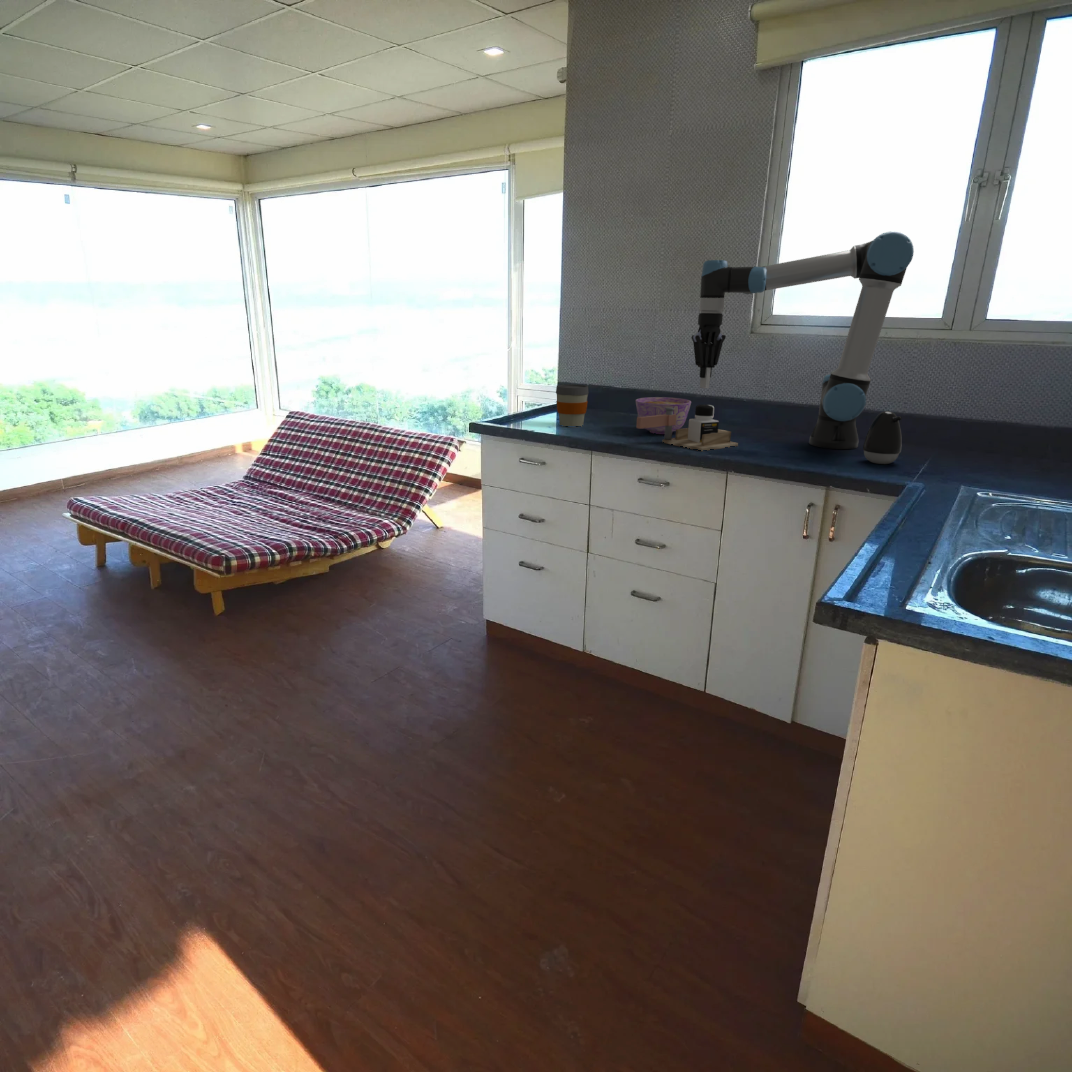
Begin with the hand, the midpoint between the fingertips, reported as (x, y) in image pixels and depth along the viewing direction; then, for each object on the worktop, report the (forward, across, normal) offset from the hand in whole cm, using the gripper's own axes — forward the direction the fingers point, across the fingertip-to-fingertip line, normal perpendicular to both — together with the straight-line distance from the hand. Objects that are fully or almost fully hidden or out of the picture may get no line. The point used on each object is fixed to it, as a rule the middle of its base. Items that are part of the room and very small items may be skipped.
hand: (704, 387), depth 227 cm
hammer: (+17, +14, -7) cm, 23 cm away
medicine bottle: (+18, -1, 0) cm, 18 cm away
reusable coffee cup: (+19, +17, -53) cm, 59 cm away
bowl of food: (+19, -4, -24) cm, 31 cm away
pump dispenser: (+19, -27, +48) cm, 58 cm away
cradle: (+19, -1, 0) cm, 19 cm away
